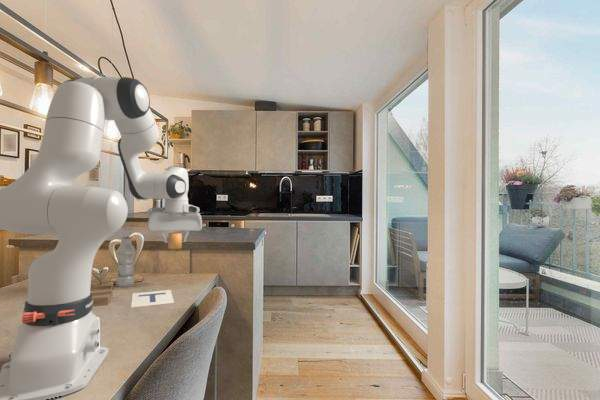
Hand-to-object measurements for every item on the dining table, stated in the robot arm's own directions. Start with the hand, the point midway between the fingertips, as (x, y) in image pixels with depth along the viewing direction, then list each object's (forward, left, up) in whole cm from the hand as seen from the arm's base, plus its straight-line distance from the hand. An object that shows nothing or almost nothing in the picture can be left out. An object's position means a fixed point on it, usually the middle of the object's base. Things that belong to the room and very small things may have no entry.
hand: (175, 242), depth 125 cm
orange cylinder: (0, 0, -2) cm, 2 cm away
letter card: (-12, +8, -19) cm, 24 cm away
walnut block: (-10, +25, -19) cm, 33 cm away
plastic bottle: (+9, +17, -19) cm, 27 cm away
